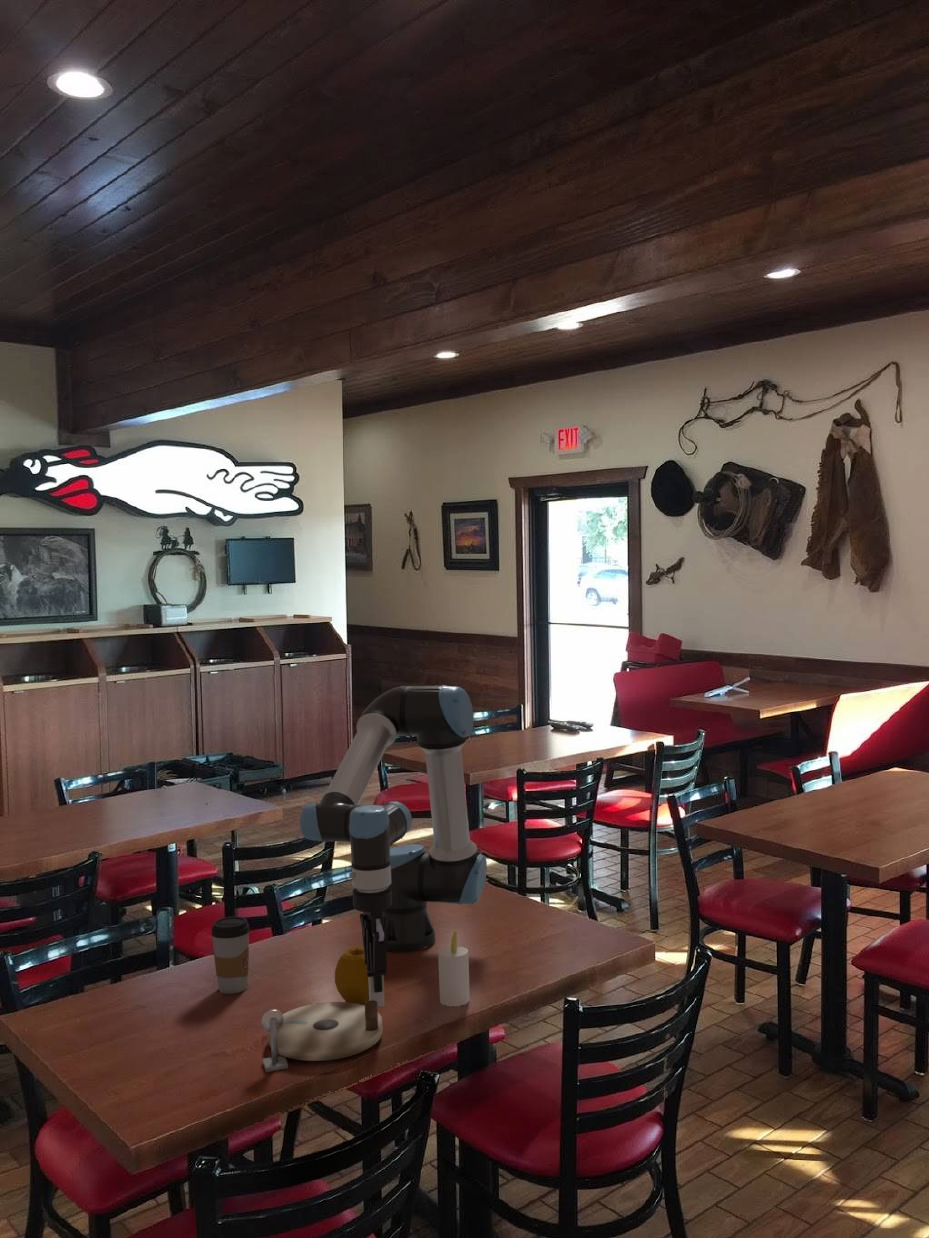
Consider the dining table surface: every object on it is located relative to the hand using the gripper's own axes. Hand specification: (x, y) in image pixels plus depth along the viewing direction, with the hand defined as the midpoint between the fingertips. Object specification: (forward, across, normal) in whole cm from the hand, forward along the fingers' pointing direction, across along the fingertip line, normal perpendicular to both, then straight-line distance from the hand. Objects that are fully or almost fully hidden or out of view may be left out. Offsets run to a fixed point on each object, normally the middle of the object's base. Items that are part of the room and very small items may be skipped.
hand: (377, 1005), depth 206 cm
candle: (+7, -11, +19) cm, 23 cm away
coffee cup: (+7, -37, -24) cm, 44 cm away
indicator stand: (+6, +4, -21) cm, 22 cm away
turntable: (+6, -3, -10) cm, 12 cm away
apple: (+7, -18, 0) cm, 19 cm away
